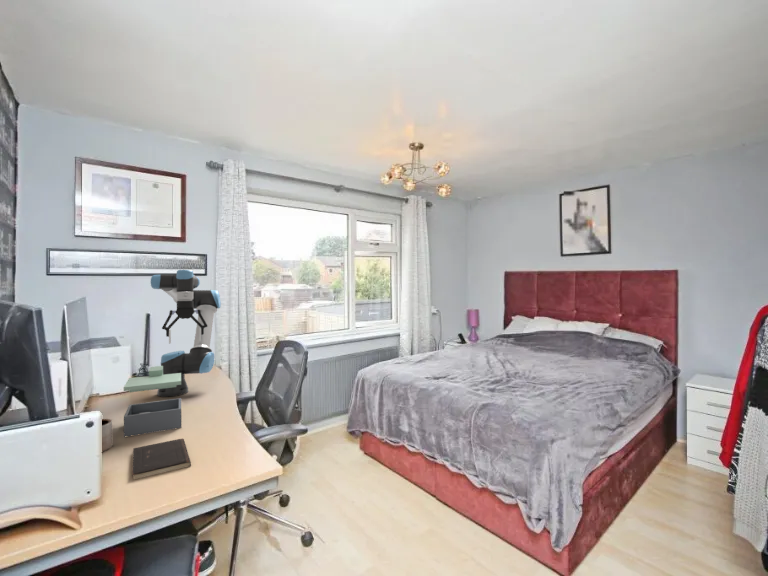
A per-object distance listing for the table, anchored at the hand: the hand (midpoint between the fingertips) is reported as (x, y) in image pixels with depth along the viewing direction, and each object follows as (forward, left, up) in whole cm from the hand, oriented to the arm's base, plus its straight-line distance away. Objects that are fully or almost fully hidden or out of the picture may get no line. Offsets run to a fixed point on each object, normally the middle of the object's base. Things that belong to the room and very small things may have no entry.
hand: (185, 342), depth 188 cm
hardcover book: (+65, -8, -32) cm, 73 cm away
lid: (+21, -12, -15) cm, 29 cm away
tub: (+26, -12, -32) cm, 43 cm away
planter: (+44, -30, -32) cm, 62 cm away
